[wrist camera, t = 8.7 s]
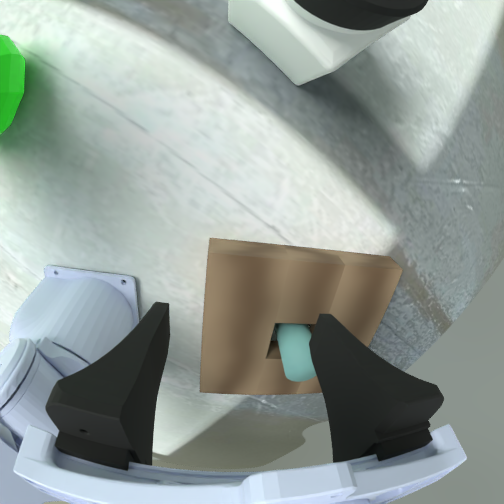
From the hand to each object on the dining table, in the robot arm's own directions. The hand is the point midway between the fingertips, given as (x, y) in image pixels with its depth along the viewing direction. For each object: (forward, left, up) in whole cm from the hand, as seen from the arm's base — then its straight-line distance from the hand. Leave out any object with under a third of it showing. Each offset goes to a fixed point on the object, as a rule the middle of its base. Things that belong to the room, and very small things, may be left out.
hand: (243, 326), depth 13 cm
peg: (+6, -8, -10) cm, 14 cm away
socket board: (+6, -8, -10) cm, 14 cm away
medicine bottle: (+2, +17, -10) cm, 20 cm away
